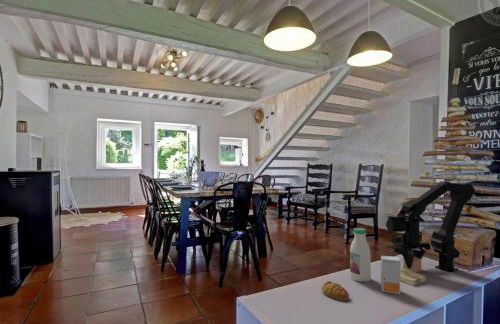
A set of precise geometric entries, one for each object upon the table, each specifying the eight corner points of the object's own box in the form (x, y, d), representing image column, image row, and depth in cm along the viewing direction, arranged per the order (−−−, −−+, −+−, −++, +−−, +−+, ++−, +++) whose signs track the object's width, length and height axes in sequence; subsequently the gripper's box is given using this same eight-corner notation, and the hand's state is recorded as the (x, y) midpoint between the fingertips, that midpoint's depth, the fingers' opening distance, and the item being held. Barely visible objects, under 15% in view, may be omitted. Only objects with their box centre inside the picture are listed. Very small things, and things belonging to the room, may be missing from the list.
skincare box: (381, 292, 100) (381, 258, 100) (380, 287, 104) (380, 255, 104) (400, 294, 98) (400, 260, 98) (399, 289, 102) (398, 256, 102)
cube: (410, 266, 125) (409, 255, 125) (421, 270, 121) (421, 258, 121) (403, 268, 123) (403, 257, 123) (415, 272, 118) (414, 260, 118)
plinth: (403, 273, 118) (403, 268, 118) (425, 280, 110) (425, 275, 110) (390, 277, 113) (390, 272, 113) (412, 285, 105) (412, 279, 105)
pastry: (354, 298, 95) (353, 287, 95) (340, 304, 92) (340, 292, 92) (332, 288, 103) (332, 278, 103) (319, 293, 100) (319, 282, 100)
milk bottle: (367, 275, 116) (366, 227, 116) (373, 282, 108) (373, 231, 108) (348, 274, 116) (347, 226, 117) (353, 282, 109) (352, 230, 109)
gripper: (406, 226, 134) (406, 258, 133) (381, 230, 124) (382, 265, 124) (430, 230, 124) (431, 265, 124) (406, 235, 115) (407, 273, 114)
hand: (412, 267), depth 122 cm, fingers closed on cube, 5 cm apart
